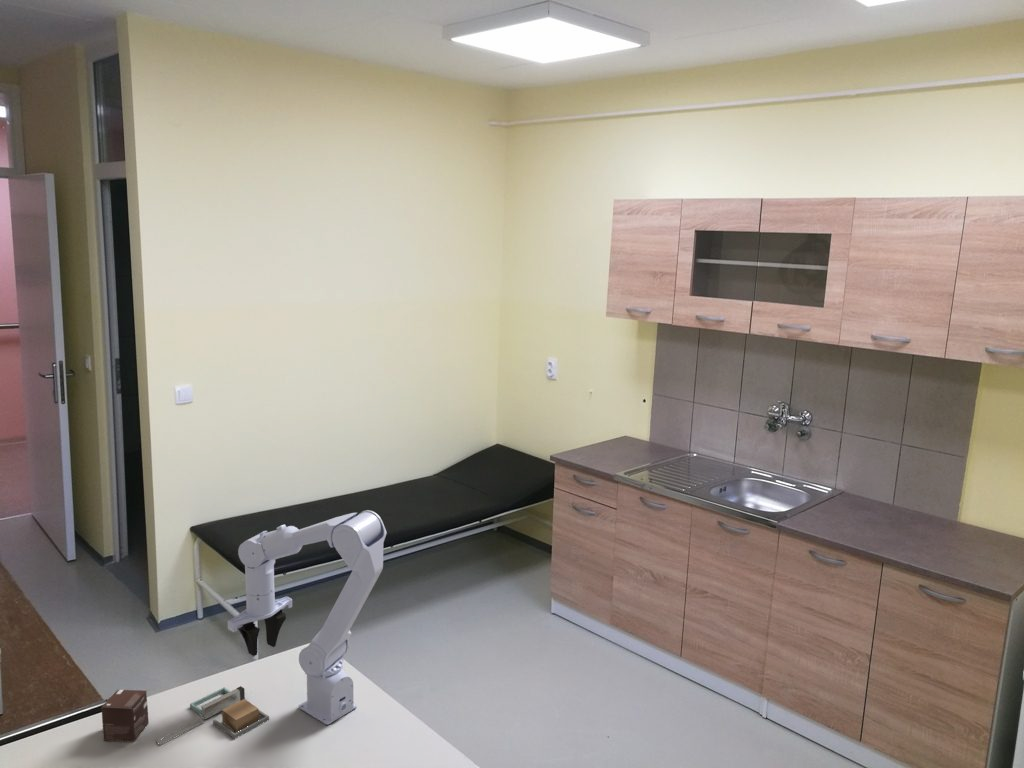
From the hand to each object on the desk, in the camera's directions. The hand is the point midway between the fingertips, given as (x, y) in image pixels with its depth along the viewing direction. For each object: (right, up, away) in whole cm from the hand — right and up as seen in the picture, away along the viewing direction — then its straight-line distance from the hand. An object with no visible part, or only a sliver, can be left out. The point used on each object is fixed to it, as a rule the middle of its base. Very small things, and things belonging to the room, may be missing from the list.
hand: (262, 649), depth 162 cm
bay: (-9, -10, -4) cm, 14 cm away
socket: (-5, -12, -12) cm, 18 cm away
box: (-22, -12, -14) cm, 28 cm away
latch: (-6, -10, -6) cm, 13 cm away
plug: (-1, -12, -9) cm, 15 cm away
